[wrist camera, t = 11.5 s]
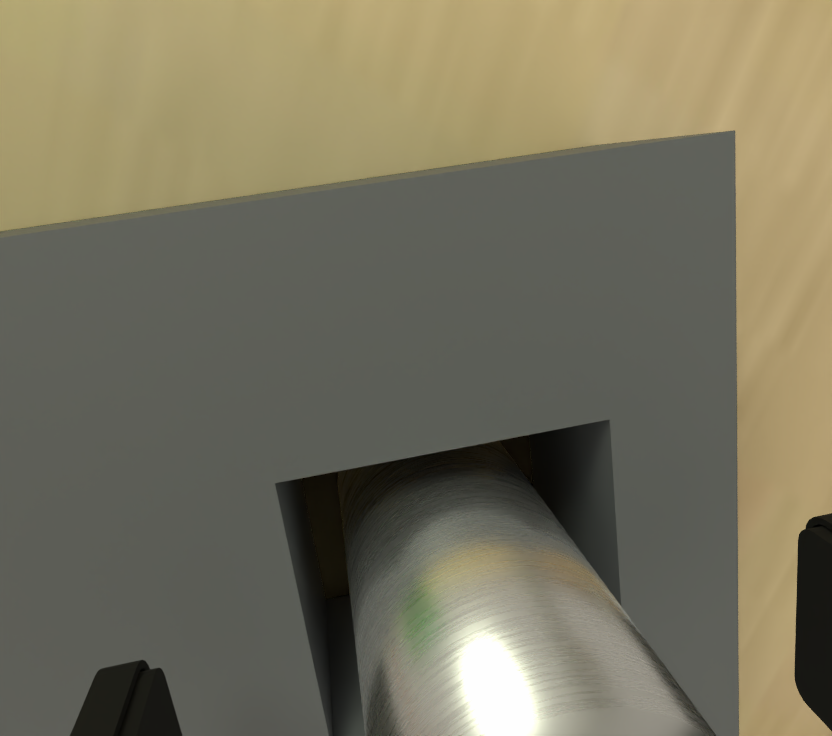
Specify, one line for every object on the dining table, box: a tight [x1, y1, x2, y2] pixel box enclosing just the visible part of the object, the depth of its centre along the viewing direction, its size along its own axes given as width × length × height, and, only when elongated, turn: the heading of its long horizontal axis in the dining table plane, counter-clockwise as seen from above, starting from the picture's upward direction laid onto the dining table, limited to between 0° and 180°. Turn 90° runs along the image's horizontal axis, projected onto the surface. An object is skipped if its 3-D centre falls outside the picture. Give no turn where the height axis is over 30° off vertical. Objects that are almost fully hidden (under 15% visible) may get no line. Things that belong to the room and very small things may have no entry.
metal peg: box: [338, 441, 716, 736], centre depth 12 cm, size 4×4×10 cm
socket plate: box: [0, 131, 739, 736], centre depth 14 cm, size 22×14×5 cm, turn 98°
